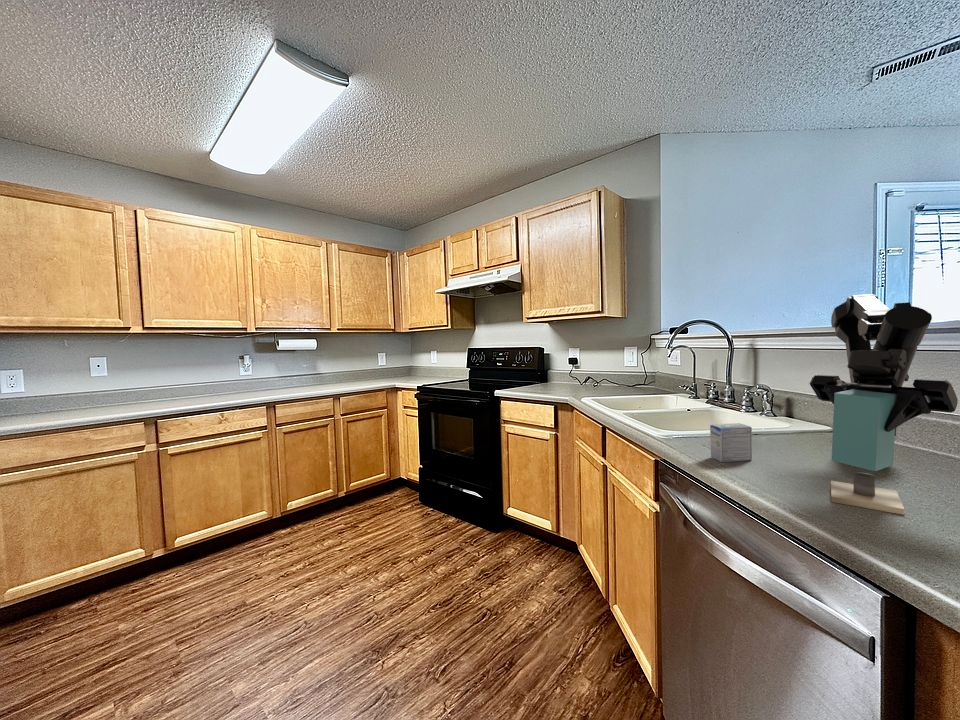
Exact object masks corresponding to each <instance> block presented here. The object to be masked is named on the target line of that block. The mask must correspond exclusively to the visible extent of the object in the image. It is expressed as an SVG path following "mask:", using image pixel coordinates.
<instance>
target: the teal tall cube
mask: <svg viewBox="0 0 960 720" xmlns="http://www.w3.org/2000/svg"><path fill="white" fill-rule="evenodd" d="M896 399H897V394H890V393H881V392H872V391H863V390H854V389H851V390H847V391H842V392H837V393H835V394H834V404H833V420H832V442H831V444H832V445H831V461H832V462H836V463H841V464H843V465H847V466H852V467H857V468H860V469H863V470H868V471H872V472H877V471H880V470H883V469H885V468H886V469H887V468H888V467H892V466H893V465H894V454H895V437H896V436H895V429H893V430H892V431H890V432H886V431H885V429H884V427H885V424H886V421H887V419H888V417H889V415H890V413H891V411H892V409H893V407H894V405H895V403H896Z"/></svg>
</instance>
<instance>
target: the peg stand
mask: <svg viewBox="0 0 960 720" xmlns="http://www.w3.org/2000/svg"><path fill="white" fill-rule="evenodd" d="M852 475H853V476H852V477H853V478H852V479H853V482H852V483H850V482H843V481H838V480H837V481H836V480H830V498H831V499H830V501H831V502H832V503H836V504H842V505H847V506H851V507H852V506H853V507H858V508H864V509H870V510H875V511H880V512H885V513H886V512H887V513H893V514H897V515H902V516H903V515H905V507H904V504H903V502H902V500H901V498H900V496H899V494H898V491H897V490H896V489H892V488H891V489H889V488H883V487H876V476H875V475H874V474H872V473H867V472H860V471H858V472H857V471H856V472H855V471H854V472H853V474H852Z"/></svg>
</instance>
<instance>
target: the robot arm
mask: <svg viewBox="0 0 960 720" xmlns="http://www.w3.org/2000/svg"><path fill="white" fill-rule="evenodd" d="M830 319H831V320H830V323H831V328H833V329H834V332H835V337H837V338H838V339H840V340H841V341H842V342H843V343H844V344H845V349H846V356H847V358H846V359H847V368H848V372H849V373H848V374H849V378H850V379H849V380H850V382H846V381H844V380H841V378H840V377H839V375H824V374H817V375H814V376H812V378H811V380H810V381H809V383H808V384H809V385H810V387H811V389H812V390H813V392H814V394H815V395H816V398H818V400H820V401H823V402H831V403H832V404H833V405H834V394H835V393H837V392H842V391H847V390H851V389H854V390H863V391H872V392H881V393H890V394H897V399H896V403H895V405H894V407H893V409H892V411H891V413H890V415H889V417H888V419H887V421H886V424H885V427H884V429H885V431H886V432H890V431H892V430H893V429H895V437H896V436H897V428H898V427H900V426H902V425H903V424H905V423H906V422H908V421H909V420H912V419H915V418H916V417H918V416H921V415H923V414H926V415H927V414H928V415H929V414H931V412H941V413H950V414H951V413H954V412H955V411H956V408H957V407H958V404H959V401H958V400H959V399H958V397H957V394H956V392H955V391H956V390H954V387H953V385H952V383H951V382H949V380H947V379H946V380H945V379H943V380H942V379H924V378H920V379H919V378H917V379H916V378H915V379H913V382H912V387H911V386H903V385H904V382H909V378H910V376H909V374H908V373H909V370H910V368H911V365H912V363H913V360H914V357H915V355H916V353H917V350H918V346H919V345H921V343H922V341H923V338H924V337H925V334H926V332H927V330H928V328H929V326H930V324H931V322H932V319H933V315H932V314H931V313H930V312H928V311H927V310H926V309H924V308H921V307H918V306H913V305H912V304H911V302H910V301H908V302H907V301H906V302H905V301H904V302H894V304H893V307H892V308H889V307H887V305H885V303H883V302H882V301H881V300H879V297H878V294H873V293H870V294H857V295H855V294H854V295H850V296H848V297H847V299H846V300H845V301H844V302H843V303H841V304H839V305H838V306H836V307H834V308H833V311H832V314H831V318H830ZM871 341H875V343H874V346H873V347H872V346H871Z"/></svg>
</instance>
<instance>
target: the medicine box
mask: <svg viewBox="0 0 960 720" xmlns="http://www.w3.org/2000/svg"><path fill="white" fill-rule="evenodd" d="M752 429H753V428H752V426H751V425H746V424H744V423H740V422H736V423H734V422H733V423H718V424H711V425H709V431H710V432H709V435H710V436H709V437H710V438H709V439H710V457H711V458H712V459H713V460H715V459H716V461H718V462H721V463H729V462H730V463H732V462H746V461H752V460H753V443H752V442H753V439H752V437H753V434H752V433H753V432H752V431H753V430H752Z"/></svg>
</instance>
